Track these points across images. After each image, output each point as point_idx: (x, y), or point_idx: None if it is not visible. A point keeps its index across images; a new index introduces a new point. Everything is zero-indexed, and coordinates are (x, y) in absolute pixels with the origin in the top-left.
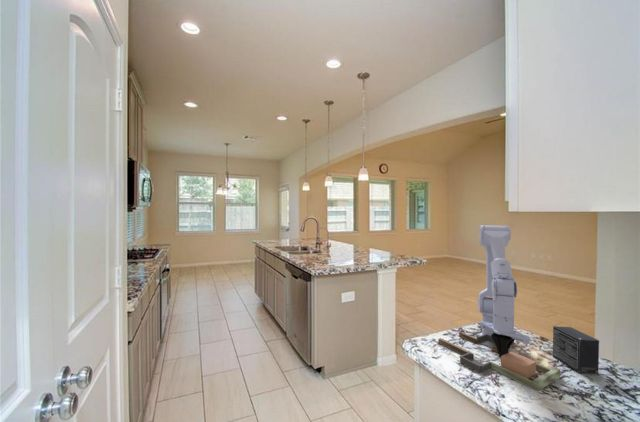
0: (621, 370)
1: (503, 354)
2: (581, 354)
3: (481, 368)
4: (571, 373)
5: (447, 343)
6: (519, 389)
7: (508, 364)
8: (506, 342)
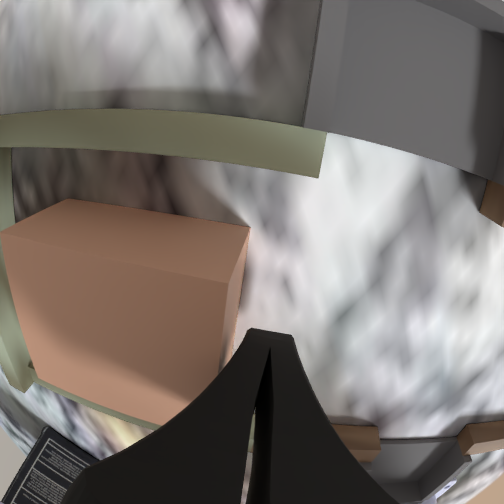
0: None
1: (235, 353)
2: (14, 478)
3: None
4: (51, 414)
5: None
6: (50, 25)
7: (157, 236)
8: (82, 474)
